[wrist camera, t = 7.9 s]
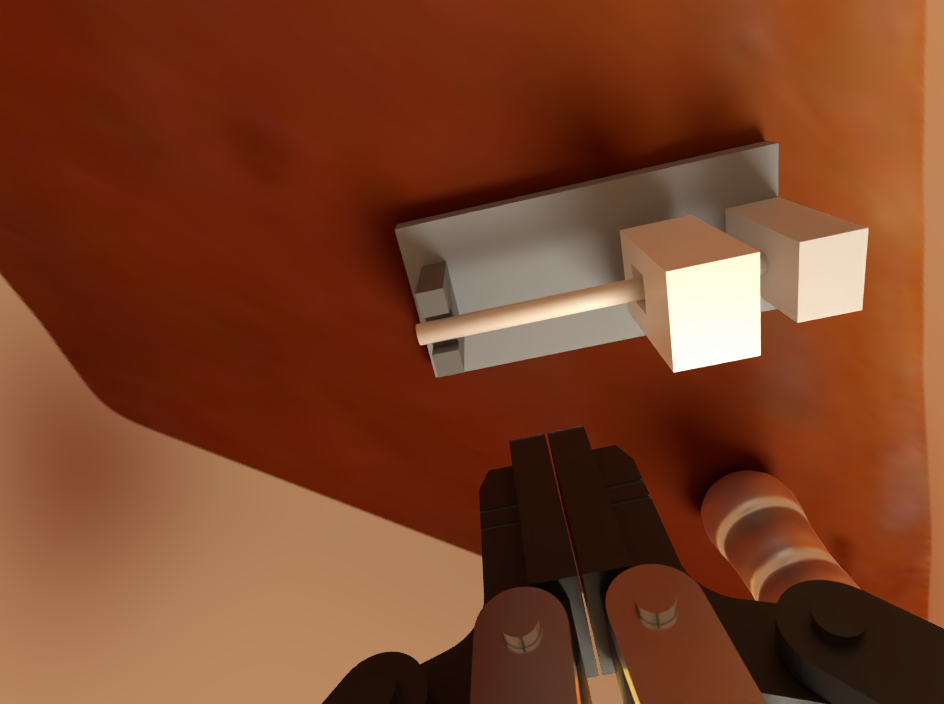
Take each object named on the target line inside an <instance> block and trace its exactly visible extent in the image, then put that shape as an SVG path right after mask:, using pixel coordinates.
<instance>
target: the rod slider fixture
mask: <svg viewBox="0 0 944 704" xmlns="http://www.w3.org/2000/svg"><path fill="white" fill-rule="evenodd" d="M778 145H779V143H776V142H770V141H762V142H758V143H753V144H749V145H745V146H740V147H736V148H731V149H727V150H723V151H718V152H714V153H709V154H705V155H700V156H696V157H692V158H687V159H683V160H678V161H674V162H669V163H665V164H661V165H656V166H652V167H647V168H643V169H639V170H634V171H630V172H625V173H621V174H616V175H612V176H608V177H603V178H599V179H594V180H590V181H585V182H581V183H577V184H572V185H568V186H563V187H559V188H555V189H550V190H546V191H541V192H537V193H532V194H528V195H524V196H519V197H515V198H510V199H506V200H501V201H497V202H493V203H488V204H484V205H479V206H475V207H470V208H466V209H462V210H457V211H453V212H448V213H444V214H440V215H435V216H431V217H426V218H422V219H417V220H413V221H409V222H404V223H400V224H397V226H396V228H395V233H396V236H397V240H398V244H399V247H400V251H401V254H402V258H403V261H404V265H405V269H406V272H407V276H408V279H409V283H410V286H411V290H412V294H413V297H414V301H415V304H416V308H417V311H418V315H419V319H420V322H421V323H419V324H416V333H417V338H418V341H419V344H420V345H425V344H427V347H428V351H429V354H430V358H431V362H432V365H433V369H434V372H435V376H436V377H443V376H448V375H453V374H458V373H463V372H466V371H471V370H476V369H480V368H485V367H490V366H495V365H500V364H505V363H510V362H515V361H520V360H525V359H530V358H535V357H540V356H545V355H550V354H555V353H560V352H565V351H570V350H575V349H580V348H585V347H590V346H595V345H600V344H604V343H609V342H614V341H619V340H624V339H629V338H634V337H639V336H644V335H645V333H644V332H643V331H642V329H641V328H640V326H639V325H638V324H637V322H636V321H635V320H634V318H633V317H632V316H631V314H630V313H629V310H628V302H633V301H638V300H643V299H645V293H644V282H643V276H642V277H637V278H633V279H628V280H625V274H624V265H623V256H622V247H621V238H620V230H623V229H628V228H632V227H637V226H641V225H646V224H651V223H655V222H660V221H664V220H669V219H674V218H678V217H683V216H687V215H693V216H695V217H697V218H699V219H701V220H703V221H704V222H706V223H708V224H710V225H712V226H714V227H715V228H717V229H719V230H721V231H723V232H725V233H726V234H728V235H730V236H732V237H734V238H736V239H737V240H739V241H741V242H743V243H745V244H747V245H748V246H750V247H752V248H754V249H756V250H758V251H759V252H760V312H763V311H768V310H773V309H778V310H780V311H781V312H783V313H784V314H785V315H787V316H788V317H790V318H791V319H793V320H794V321H795V322H797V323H799V322H804V321H809V320H814V319H819V318H824V317H829V316H834V315H839V314H844V313H849V312H854V311H860V310H862V305H863V292H864V279H865V266H866V254H867V241H868V227H865V226H862V225H859V224H856V223H853V222H850V221H847V220H844V219H841V218H838V217H835V216H832V215H829V214H826V213H823V212H820V211H817V210H814V209H811V208H809V207H806V206H803V205H800V204H797V203H794V202H791V201H788V200H785V199H782V198H779V197H778Z"/></svg>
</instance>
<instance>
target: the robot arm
mask: <svg viewBox="0 0 944 704" xmlns="http://www.w3.org/2000/svg"><path fill="white" fill-rule="evenodd" d="M548 438H549V443H550V448H551V453H552V458H553V462H554V467H555V472H556V477H557V481H558V486H559V491H560V496H561V500H562V505H563V509H564V514H565V518H566V522H567V527H568V531H569V535H570V539H571V543H572V548H573V552H574V556H575V560H576V564H577V569H578V573H579V577H580V581H581V585H582V590H583V594H584V598H585V602H586V607H587V611H588V615H589V619H590V623H591V627H592V632H593V636H594V640H595V644H596V649H597V653H598V657H599V661H600V665H601V669H602V674H603V675H606V674H612V673H616V676H617V680H618V684H619V688H620V692H621V695H622V699H623V703H624V704H944V629H943V628H941V627H939V626H937V625H935V624H932V623H930V622H928V621H926V620H924V619H922V618H920V617H918V616H916V615H913V614H911V613H909V612H907V611H905V610H903V609H901V608H899V607H897V606H894V605H892V604H890V603H888V602H886V601H884V600H882V599H880V598H878V597H875V596H873V595H871V594H869V593H867V592H865V591H863V590H861V589H858V588H856V587H853V586H851V585H848V584H844V583H841V582H836V581H830V580H808V581H804V582H800V583H797V584H795V585H793V586H791V587H790V588H788V589H787V590H786V591H785V592H784V593H783V594H782V595H781V596H780V598H779V600H778V602H777V603H771V602H762V601H753V600H744V599H737V598H731V597H727V596H724V595H720V594H718V593H716V592H713V591H711V590H709V589H707V588H705V587H704V586H702V585H700V584H699V583H698V582H696V581H695V580H694V579H693V578H692V577H691V576H690V575H689V574H688V573H687V572H686V571H685V570H684V568H683V567H682V565H681V563H680V561H679V559H678V557H677V555H676V553H675V550H674V548H673V546H672V544H671V541H670V539H669V537H668V535H667V533H666V530H665V528H664V526H663V524H662V521H661V519H660V517H659V515H658V513H657V510H656V508H655V506H654V504H653V501H652V499H650V495H649V493H648V490H647V488H646V486H645V484H644V483H643V480H642V477H641V475H640V473H639V470H638V468H637V466H636V464H635V462H634V460H633V459H632V458H631V457H630V456H628V455H627V454H626V453H625V452H623V451H622V450H621V449H620V448H618V447H617V446H616V445H614V446H609V447H604V448H599V449H594V450H592V449H591V446H590V443H589V441H588V438H587V435H586V432H585V429H584V427H583V426H578V427H573V428H568V429H563V430H558V431H553V432H548ZM509 442H510V450H511V458H512V465H513V466H510V467H505V468H500V469H495V470H490V471H488V473H487V475H486V477H485V479H484V481H483V483H482V486H481V488H480V490H479V496H480V512H481V515H480V518H481V530H482V532H481V539H482V561H483V582H484V605H483V609H482V610H481V611H480V613H479V616H478V617H477V620H476V623H475V627H474V628H473V630H472V631H471V632H470V633H469V634H468V635H467V636H466V637H465V638H464V640H462V641H461V642H460V643H458V644H457V645H456V646H455V647H452V648H451V649H449V650H447V651H445V652H443V653H442V654H440V655H438V656H436V657H434V658H432V659H430V660H428V661H426V662H424V663H422V664H419V663H418V662H417V661H416V660H415V659H414V658H412V657H411V656H409V655H407V654H404V653H400V652H384V653H380V654H376V655H374V656H372V657H369V658H367V659H366V660H364V661H362V662H361V663H359V664H358V665H357V666H355V667H354V668H353V669H352V670H351V671H350V672H349V673H348V674H347V675H346V676H345V677H344V678H343V680H342V681H341V682H340V683H339V684H338V685H337V687H336V688H335V689H334V690H333V691H332V692H331V694H330V695H329V696H328V697H327V698H326V699H325V701H324V702H323V703H322V704H592V700H591V696H590V691H589V686H588V681H587V678H589V677H595V676H598V670H597V666H596V661H595V656H594V651H593V646H592V641H591V637H590V632H589V627H588V623H587V618H586V613H585V608H584V603H583V598H582V594H581V589H580V584H579V579H578V575H577V570H576V566H575V562H574V558H573V553H572V549H571V545H570V541H569V536H568V532H567V528H566V524H565V519H564V515H563V511H562V506H561V502H560V498H559V494H558V489H557V485H556V481H555V477H554V472H553V468H552V464H551V460H550V455H549V451H548V447H547V443H546V438H545V434H539V435H534V436H529V437H525V438H520V439H515V440H510V441H509Z"/></svg>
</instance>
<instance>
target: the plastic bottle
mask: <svg viewBox="0 0 944 704" xmlns="http://www.w3.org/2000/svg"><path fill="white" fill-rule="evenodd" d="M701 517H702V521H703V524H704V528H705V531H706V534H707V536H708V537H709V539H710V540H711V542H712V543H713V544H714V545H715V547H716V548H717V549H718V551H719V552H720V553H721V554H722V555H723V556H724V557H725V558H726V559H727V560H728V561H729V562H730V563H731V565H732V566H733V568H734V569H735V570H736V572H737V573H738V575H739V576H740V577H741V579H742V580H743V582H744V583H745V585H746V586H747V587H748V589H749V590H750V592H751V593H752V595H753V597H754V599H755V601H762V602H771V603H777V602H778V600H779V598H780V596H781V595H782V594H783V593H784V592H785V591H786V590H787V589H788V588H790V587H791V586H793V585H795V584H797V583H800V582H804V581H808V580H830V581H836V582H841V583H844V584H848V585H851V586H853V587H856V588H858V589H860V588H859V587H858V586H857V584H856V583H855V582H854V581H853V580H852V579H851V578H850V577H849V575H848V574H847V573H846V572H845V571H844V570H843V569H842V568H841V567H840V565H839V564H838V563H837V562H836V561H835V560H834V559H833V558H832V556H831V555H830V554H829V552H828V551H827V549H826V548H825V546H824V545H823V543H822V542H821V540H820V539H819V537H818V536H817V534H816V533H815V531H814V530H813V528H812V527H811V525H810V524H809V522H808V520H807V518H806V516H805V514H804V511H803V509H802V507H801V505H800V504H799V502H798V500H797V499H796V497H795V495H794V494H793V493H792V491H791V490H790V489H789V488H788V487H786V486H785V485H784V484H783V483H781V482H780V481H779V480H778V479H776V478H775V477H773V476H772V475H770V474H767V473H764V472H758V471H751V470H743V471H737V472H733V473H730V474H728V475H726V476H724V477H722V478H720V479H719V480H717V481H716V482H715V483H714V484H713V485H712V486H711V487H710V488H709V489H708V491H707V493H706V495H705V497H704V500H703V503H702V506H701Z"/></svg>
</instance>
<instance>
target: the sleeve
mask: <svg viewBox="0 0 944 704" xmlns="http://www.w3.org/2000/svg"><path fill="white" fill-rule="evenodd" d="M620 238H621V247H622V256H623V265H624V274H625V280H628V279H633V278H637V277H642V276H643V282H644V293H645V299H643V300H638V301H633V302H628V310H629V313H630V314H631V316H632V317H633V318H634V320H635V321H636V322H637V324H638V325H639V326H640V328H641V329H642V331H643V332H644V333H645V335H646V336H647V337H648V339H649V340H650V341H651V343H652V344H653V345H654V347H655V348H656V349H657V351H658V352H659V354H660V355H661V356H662V358H663V359H664V360H665V362H666V363H667V364H668V366H669V367H670V368H671V370H672V371H673V372H679V371H684V370H689V369H694V368H699V367H704V366H709V365H715V364H720V363H725V362H730V361H735V360H740V359H745V358H750V357H756V356H761V350H760V252H759V251H758V250H756V249H754V248H752V247H750V246H748V245H747V244H745V243H743V242H741V241H739V240H737V239H736V238H734V237H732V236H730V235H728V234H726V233H725V232H723V231H721V230H719V229H717V228H715V227H714V226H712V225H710V224H708V223H706V222H704V221H703V220H701V219H699V218H697V217H695V216H693V215H687V216H683V217H678V218H674V219H669V220H664V221H660V222H655V223H651V224H646V225H641V226H637V227H632V228H628V229H623V230H620Z"/></svg>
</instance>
